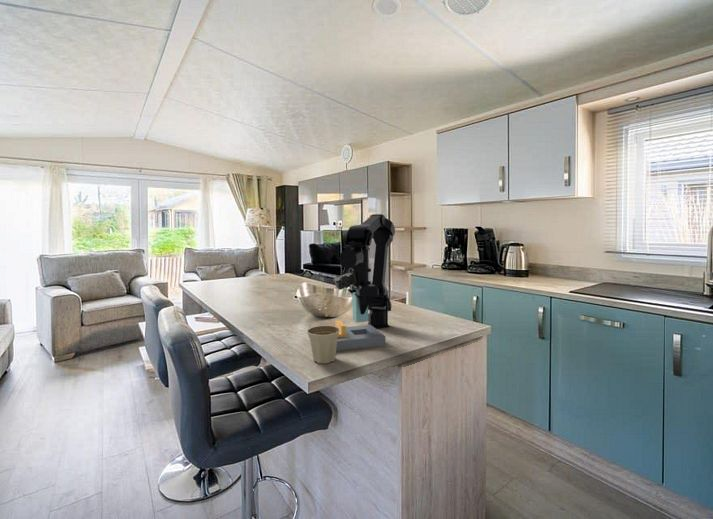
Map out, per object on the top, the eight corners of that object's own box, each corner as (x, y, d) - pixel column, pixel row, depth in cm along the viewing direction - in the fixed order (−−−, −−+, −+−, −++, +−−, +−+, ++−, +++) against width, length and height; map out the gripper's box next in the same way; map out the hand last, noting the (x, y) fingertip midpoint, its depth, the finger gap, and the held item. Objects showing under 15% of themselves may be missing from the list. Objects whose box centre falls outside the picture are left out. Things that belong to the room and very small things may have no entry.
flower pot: (312, 368, 96) (312, 336, 96) (303, 356, 105) (302, 327, 104) (345, 363, 100) (345, 332, 99) (333, 352, 109) (333, 323, 108)
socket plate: (370, 333, 128) (370, 324, 128) (385, 345, 114) (385, 336, 114) (314, 338, 122) (314, 329, 122) (323, 352, 109) (322, 342, 108)
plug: (352, 319, 120) (352, 292, 119) (364, 318, 121) (364, 291, 120) (356, 322, 116) (356, 294, 116) (368, 321, 118) (368, 293, 117)
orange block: (339, 329, 121) (339, 319, 121) (346, 336, 114) (346, 325, 113) (315, 332, 119) (315, 321, 118) (320, 339, 111) (320, 328, 111)
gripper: (329, 263, 124) (329, 308, 125) (343, 269, 106) (344, 321, 107) (360, 262, 127) (360, 306, 128) (379, 267, 109) (379, 318, 111)
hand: (360, 312), depth 119 cm, fingers closed on plug, 4 cm apart
